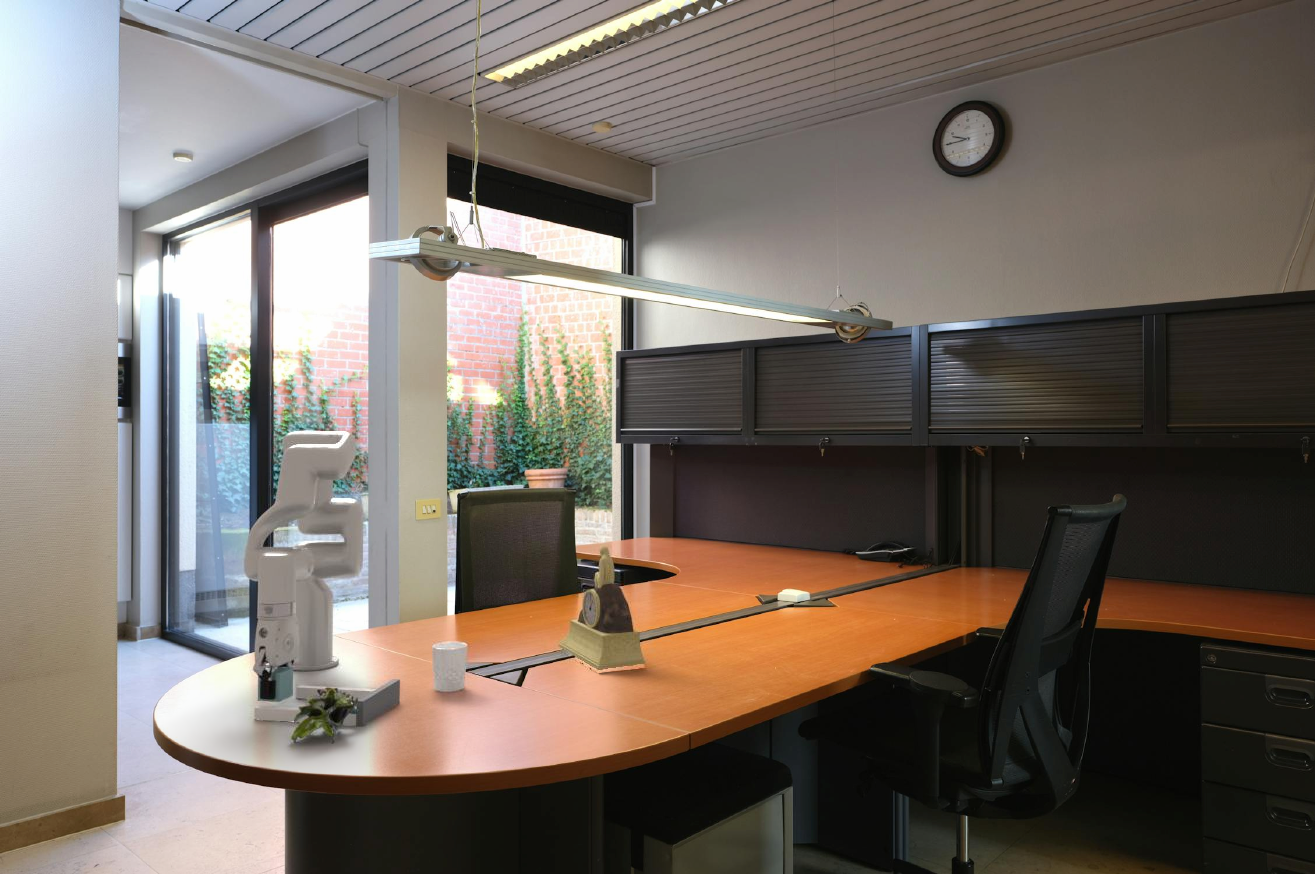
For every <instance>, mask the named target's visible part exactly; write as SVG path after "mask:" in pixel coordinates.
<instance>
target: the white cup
mask: <svg viewBox="0 0 1315 874" xmlns="http://www.w3.org/2000/svg"><path fill="white" fill-rule="evenodd" d="M431 648H432V668H433V669H432V670H433V678H434V679H433V682H434V683H433V687H434V690H435V691H437V692H442V693H453V691H454V692H458V691H461V689H462V690H463V689H464V688H465V679H466V674H467V673H466V672H467V671H466V670H467V655H468V644H467V643H466V642H464V641H463V642H461V641H442V642H437V643H434V644H433V645H432V647H431Z"/></svg>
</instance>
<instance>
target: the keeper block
mask: <svg viewBox="0 0 1315 874" xmlns="http://www.w3.org/2000/svg"><path fill="white" fill-rule="evenodd" d="M265 670H267V671H268V672H269V671H270V668H266V669H265ZM273 680H276V691H275V699H273V700H269V699H261V698H260V681H259V677H258V676H257V702H272V703H273V702H274V703H280V702H283V701H284V700H287V699H289V698H290V697H292V696H294V670H293V668H291V667H276V668H275V674H274V679H273Z"/></svg>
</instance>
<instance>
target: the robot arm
mask: <svg viewBox="0 0 1315 874" xmlns="http://www.w3.org/2000/svg"><path fill="white" fill-rule="evenodd" d="M281 445H282V446H281V447H282V451H283V454H282V457H281V463H280V464H281V465H280V471H279V476H278V482H277V483H278V484H277V489H276V493H275V494H276V496H275V500H274V504H273V505H272V506H271V507H269V508H268V509H267V510H266V511H265V512H264V513H262V514H261V516H259V518H258V519H257V520H256V522H255V523H254V524H253V526H252V527H251V528H250V531H249V533H248V536H247V541H246V546H245V551H244V557H243V571H244V574H245V576H246V577H247V579H249V580H250V581H253V582H257V617H256V618H257V623H256V624H257V625H256V630H255V639H254V665H253V667H252V671H254V673H255V674H256V675H257V678H258V677H259V681H260V698H261V699H269V700H273V699H275V691H276V680H273V679H274V674H275V668H276V667H291V668H293V671H299V670H301V672H302V671H304V672H305V671H306V672H307V671H319V670H320V671H321V670H324V669H325V670H326V669H329V668H332V667H336V666H337V665H338V664H339V663H340V662H339V661H340V659H339V657H337V656H335V655H333V650H334V648H333V645H334V643H333V642H334V637H333V636H334V635H333V634H334V594H333V591H332V589H331V588H330V586H329V585H328V584H327V583H326V581H325V580H324V579H348V578H349V579H350V578H351V579H353V578H357V577H358V576H359V575H360V573H361V572H362V569H363V564H364V512H363V507H362V504H361V503H360V502H359V500H357V499H355V498H349V497H345V498H341V497H339V498H338V497H337V498H336V497H334V490H333V488H334V487H333V486H334V481H335V480H336V481H337V480H338V481H339V480H342V479H344V478H345V477H346V475H348V474H347V473H348V472H349V470H350V468H351V466H352V464H353V463H354V461H355V458H356V456H357V441H356V438H355V436H354V435H353V433H350V432H347V431H334V430H333V431H326V430H325V431H324V430H323V431H321V430H299V431H293V432H292V431H291V432H289V433H288V432H287V433H286V434H285V435H284V436H283V438H282V444H281ZM294 521H296V525H297V529H298V531H299V532H300V533H301V534H303V535H305V536H340V537H342V538H343V540H306V541H301V542H298V543H297V544H295V545H294V546H264V543H265V541H266V539H267V538H268V536H270V534H271V533H273V532H274V531H275V530H276V529H279V528H280V527H282V526H285V525H287V524H289V523H291V522H294ZM267 668H270V671H269V672H268V671H267V670H265V669H267Z"/></svg>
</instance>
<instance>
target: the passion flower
mask: <svg viewBox="0 0 1315 874" xmlns="http://www.w3.org/2000/svg"><path fill="white" fill-rule="evenodd" d="M325 687H326V688H325V689H326V690H320V689H318V690H317V692H318V693H319V696H318V695H317V697H316V696H315V698H316V699H314V698H308V699H306V702H307V704H305V705H304V706H298V708H299V709H300V710H301V712H300V713H296V715H297V716H296V717H295V718H294V722H293V723H295V724H296V723H297V722H296V721H297V720H298V719H301V718H302V717H305V716H306V715H307V716H308V718H307V719H305V720H304V721H303V722H301V723H299V724H298V725H297V727H296V728H295V729H294V731H293V733H292V735H291V738H290V739H291V740H292V741H293V742H294V743H297V740H298V739H301V740H302V739H304V738H306V737H307V736H308V737H309V736H310V735H312V733H314V732H315V731H316V730H318V729H320V728H321V727H322V730H323V732H324V733H325V734H327V735H328V736H330V737H333V739H332V741H331V744H334V743H335V740H336V738H337V736H338V735H337V734H338V733H339V730H340V728H341V727H342V726H344V725H343V721H344V719H345V718H346V717H347V715H348V714H358V713H359V710H358V709H356V706H357V705H358V703H357V702H358V697H357V698H356V700H355V701H354V700H353V698H354V697H353V696H351V697H349V696H350V694H347V695H346V693H345V692H343V693H341V691H340V692H339V691H338V688H339V687H338V688H334V689H333V688H330V687H331V686H325ZM323 693H324V695H323Z"/></svg>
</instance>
